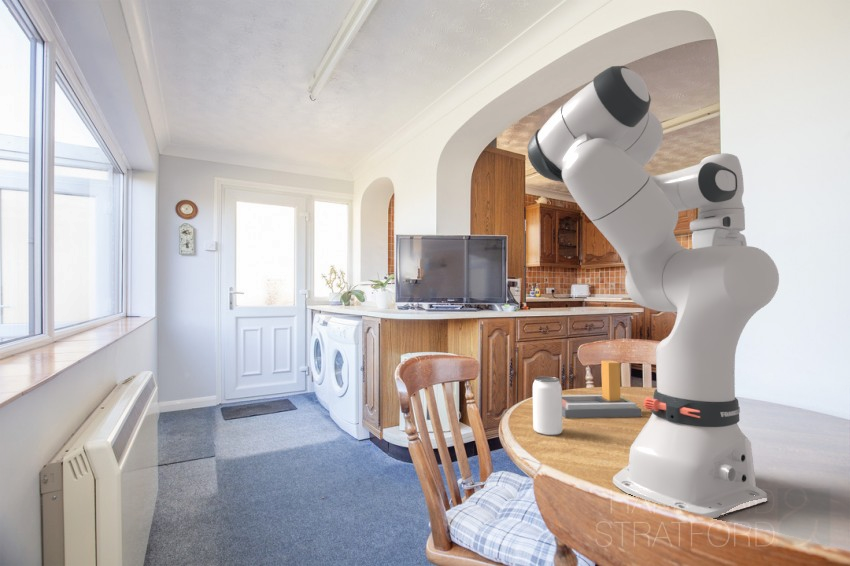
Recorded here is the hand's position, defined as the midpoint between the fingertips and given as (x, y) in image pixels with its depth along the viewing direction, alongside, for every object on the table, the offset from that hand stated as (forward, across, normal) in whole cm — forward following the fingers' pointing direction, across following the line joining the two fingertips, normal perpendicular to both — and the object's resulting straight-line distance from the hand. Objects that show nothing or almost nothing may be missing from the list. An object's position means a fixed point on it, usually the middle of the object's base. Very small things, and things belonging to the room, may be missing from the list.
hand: (722, 282), depth 93 cm
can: (+34, +36, -22) cm, 54 cm away
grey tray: (+34, +13, -26) cm, 45 cm away
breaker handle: (+32, +9, -24) cm, 40 cm away
